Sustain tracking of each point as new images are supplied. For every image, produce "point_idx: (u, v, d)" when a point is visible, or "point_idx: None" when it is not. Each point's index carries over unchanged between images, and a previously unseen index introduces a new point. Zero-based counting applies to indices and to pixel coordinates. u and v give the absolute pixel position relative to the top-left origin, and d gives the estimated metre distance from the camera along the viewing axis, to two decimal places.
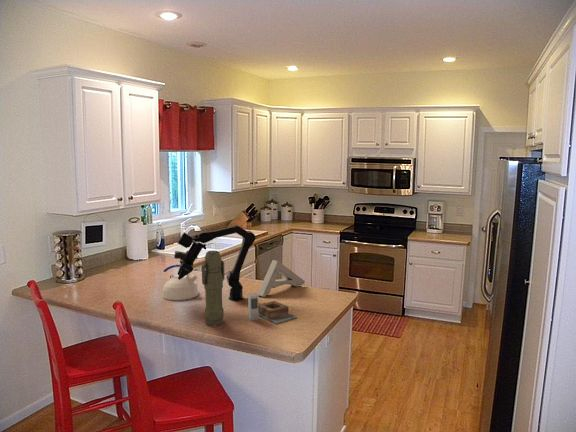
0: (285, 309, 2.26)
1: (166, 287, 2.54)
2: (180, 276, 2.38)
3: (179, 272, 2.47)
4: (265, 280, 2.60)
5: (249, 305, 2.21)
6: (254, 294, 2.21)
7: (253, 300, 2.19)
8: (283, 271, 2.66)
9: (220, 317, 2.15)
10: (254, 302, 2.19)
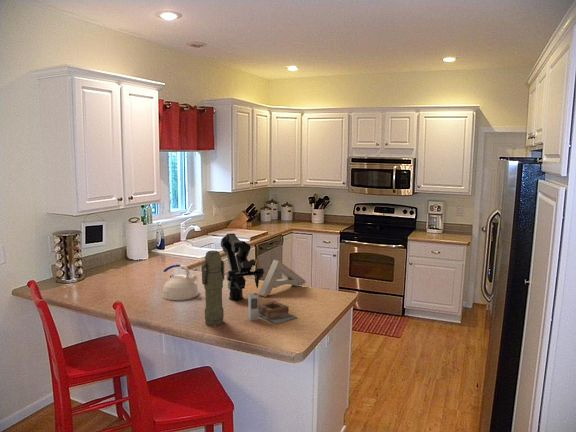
0: (285, 309, 2.26)
1: (166, 287, 2.54)
2: None
3: (239, 286, 2.27)
4: (266, 280, 2.60)
5: (249, 305, 2.21)
6: (254, 294, 2.21)
7: (253, 300, 2.19)
8: (284, 271, 2.67)
9: (220, 317, 2.15)
10: (254, 302, 2.19)
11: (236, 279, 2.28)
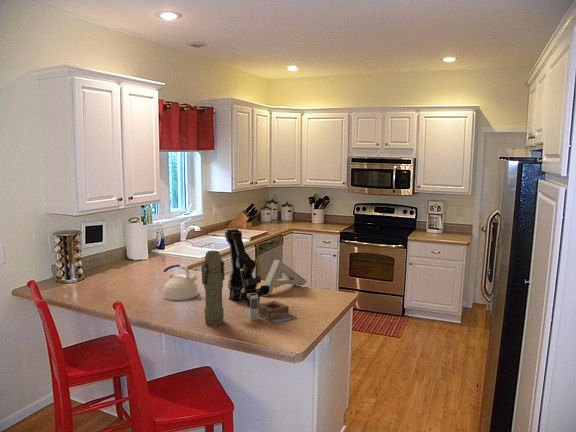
0: (285, 309, 2.26)
1: (166, 287, 2.54)
2: None
3: (249, 304, 2.21)
4: (267, 280, 2.61)
5: None
6: (254, 294, 2.21)
7: (253, 300, 2.19)
8: (285, 270, 2.67)
9: (220, 317, 2.15)
10: (254, 302, 2.19)
11: (246, 296, 2.21)
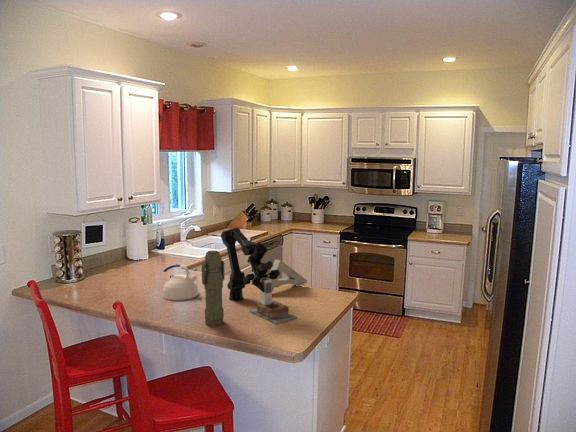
0: (285, 309, 2.26)
1: (166, 287, 2.54)
2: None
3: (263, 289, 2.23)
4: None
5: None
6: (267, 278, 2.24)
7: (267, 284, 2.22)
8: (286, 270, 2.68)
9: (220, 317, 2.15)
10: (268, 286, 2.22)
11: (259, 281, 2.23)
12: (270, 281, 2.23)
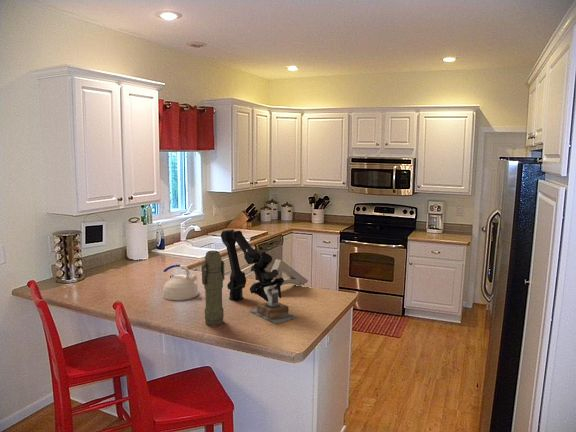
0: (285, 309, 2.26)
1: (166, 287, 2.54)
2: None
3: None
4: None
5: (269, 300, 2.26)
6: (273, 289, 2.27)
7: (274, 295, 2.25)
8: (286, 270, 2.68)
9: (220, 317, 2.15)
10: (275, 296, 2.25)
11: (263, 291, 2.24)
12: (276, 291, 2.26)
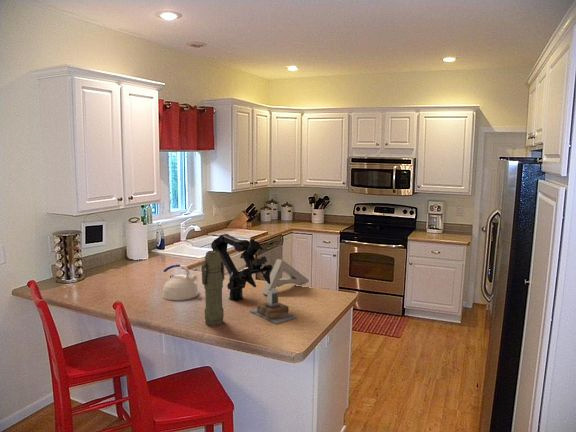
0: (285, 309, 2.26)
1: (166, 287, 2.54)
2: None
3: (254, 284, 2.30)
4: None
5: (269, 300, 2.26)
6: (273, 289, 2.27)
7: (274, 295, 2.25)
8: (287, 270, 2.69)
9: (220, 317, 2.15)
10: (275, 296, 2.25)
11: (251, 277, 2.30)
12: (276, 291, 2.26)
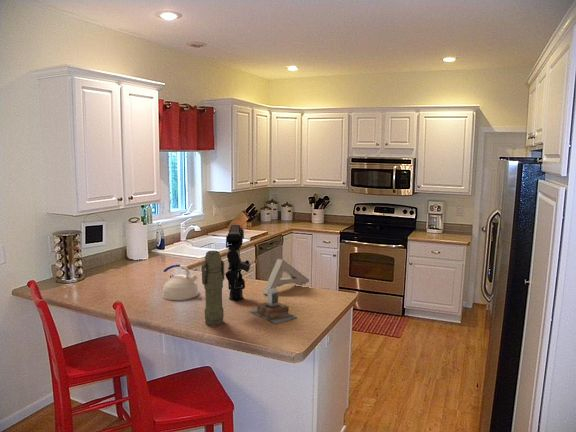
0: (285, 309, 2.26)
1: (166, 287, 2.54)
2: None
3: None
4: (270, 279, 2.63)
5: (269, 300, 2.26)
6: (273, 289, 2.27)
7: (274, 295, 2.25)
8: (288, 270, 2.69)
9: (220, 317, 2.15)
10: (275, 296, 2.25)
11: (235, 279, 2.30)
12: (276, 291, 2.26)
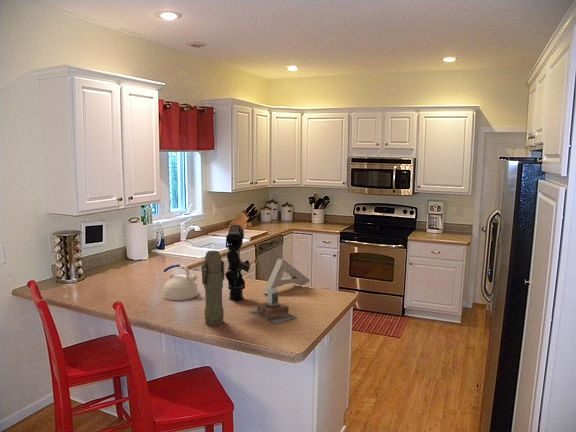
0: (285, 309, 2.26)
1: (166, 287, 2.54)
2: None
3: None
4: (270, 279, 2.63)
5: (269, 300, 2.26)
6: (273, 289, 2.27)
7: (274, 295, 2.25)
8: (288, 270, 2.70)
9: (220, 317, 2.15)
10: (275, 296, 2.25)
11: (235, 279, 2.30)
12: (276, 291, 2.26)
